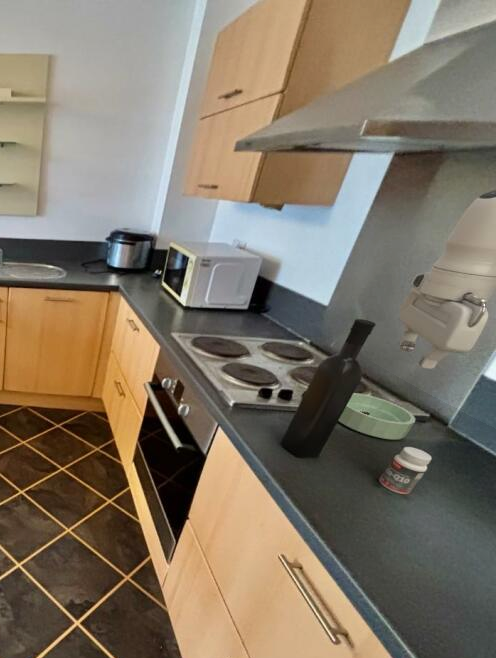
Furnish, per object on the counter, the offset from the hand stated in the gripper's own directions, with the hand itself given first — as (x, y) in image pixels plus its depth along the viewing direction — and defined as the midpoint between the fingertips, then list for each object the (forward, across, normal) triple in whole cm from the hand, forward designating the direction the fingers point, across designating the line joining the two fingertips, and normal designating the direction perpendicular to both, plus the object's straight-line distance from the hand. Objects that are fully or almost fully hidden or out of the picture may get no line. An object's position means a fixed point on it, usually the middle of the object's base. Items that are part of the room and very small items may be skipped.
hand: (414, 358), depth 80 cm
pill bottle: (+24, -10, -4) cm, 26 cm away
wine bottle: (+24, -5, +12) cm, 27 cm away
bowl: (+24, +18, -6) cm, 30 cm away
